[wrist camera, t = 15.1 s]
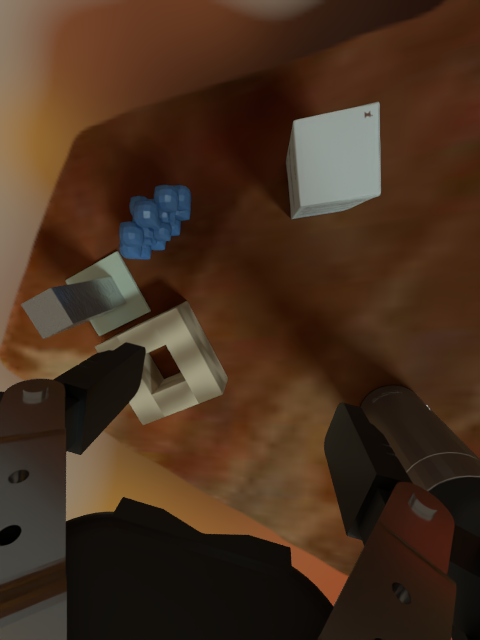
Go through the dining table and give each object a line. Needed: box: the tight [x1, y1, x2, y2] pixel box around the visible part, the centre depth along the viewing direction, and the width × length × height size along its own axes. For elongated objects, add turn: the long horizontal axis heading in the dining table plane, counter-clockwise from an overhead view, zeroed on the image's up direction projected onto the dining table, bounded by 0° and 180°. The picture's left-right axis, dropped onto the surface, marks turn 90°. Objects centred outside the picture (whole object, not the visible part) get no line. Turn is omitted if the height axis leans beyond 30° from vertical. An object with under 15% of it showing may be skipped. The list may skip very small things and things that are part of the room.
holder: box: [95, 301, 228, 425], centre depth 42 cm, size 14×14×5 cm
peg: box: [21, 277, 127, 339], centre depth 37 cm, size 4×4×12 cm
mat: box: [65, 251, 151, 336], centre depth 43 cm, size 10×10×1 cm
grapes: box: [119, 185, 191, 259], centre depth 33 cm, size 12×7×12 cm, turn 132°
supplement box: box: [286, 102, 381, 219], centre depth 30 cm, size 7×7×13 cm
